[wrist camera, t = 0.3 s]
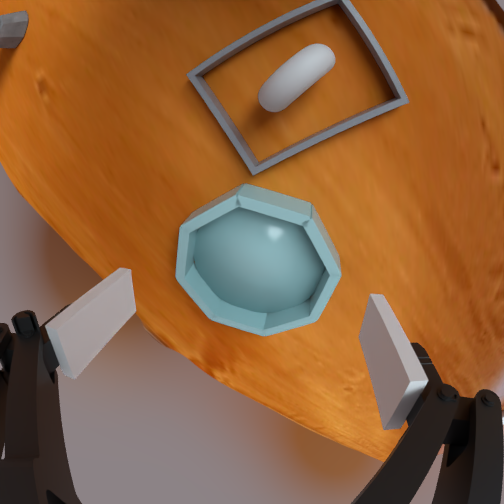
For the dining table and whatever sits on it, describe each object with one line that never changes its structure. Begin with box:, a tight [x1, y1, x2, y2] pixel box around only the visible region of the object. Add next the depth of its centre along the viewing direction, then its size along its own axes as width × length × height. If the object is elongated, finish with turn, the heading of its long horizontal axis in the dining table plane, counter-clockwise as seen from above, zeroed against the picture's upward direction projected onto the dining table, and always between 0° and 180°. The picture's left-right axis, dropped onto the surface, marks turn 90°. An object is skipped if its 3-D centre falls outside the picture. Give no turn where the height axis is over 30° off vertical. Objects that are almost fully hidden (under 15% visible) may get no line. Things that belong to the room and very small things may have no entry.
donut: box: [258, 44, 335, 112], centre depth 25 cm, size 10×3×10 cm, turn 136°
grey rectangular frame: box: [186, 0, 409, 175], centre depth 28 cm, size 22×16×2 cm
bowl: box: [175, 183, 341, 336], centre depth 43 cm, size 23×23×4 cm
